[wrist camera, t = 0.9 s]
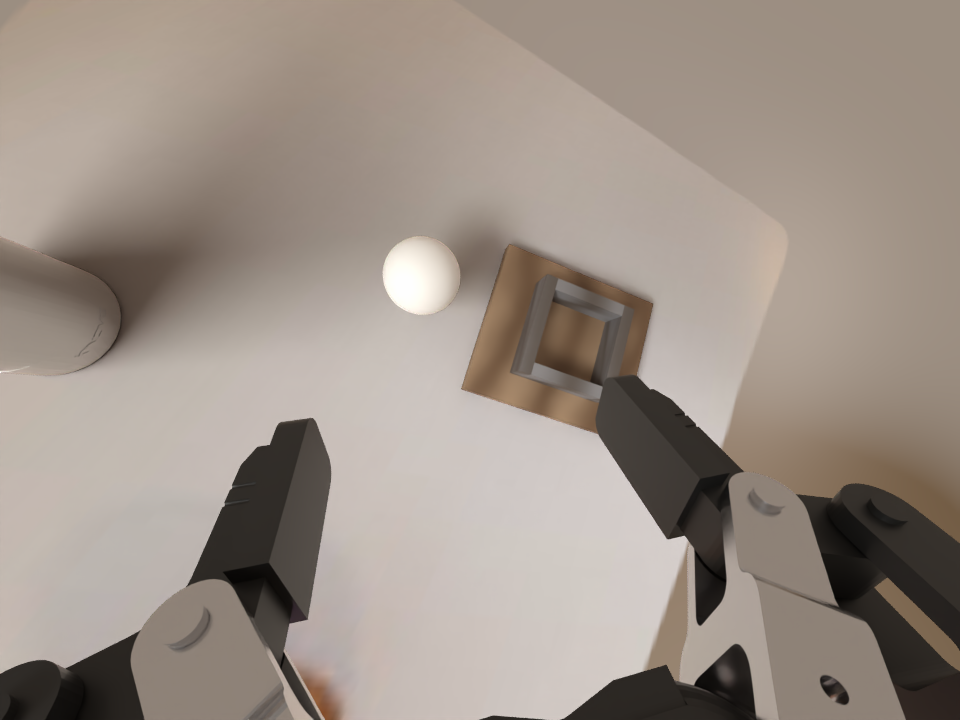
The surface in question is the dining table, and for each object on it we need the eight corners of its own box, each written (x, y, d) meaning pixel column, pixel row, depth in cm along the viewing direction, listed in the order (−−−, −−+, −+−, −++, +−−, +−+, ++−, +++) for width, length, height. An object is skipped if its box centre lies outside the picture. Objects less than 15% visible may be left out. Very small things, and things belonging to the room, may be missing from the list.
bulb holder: (461, 389, 36) (469, 387, 32) (505, 249, 39) (518, 231, 34) (613, 438, 39) (639, 444, 35) (644, 307, 42) (672, 296, 38)
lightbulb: (400, 263, 36) (400, 207, 25) (455, 287, 37) (478, 243, 26) (376, 318, 35) (367, 283, 24) (434, 341, 36) (449, 317, 25)
